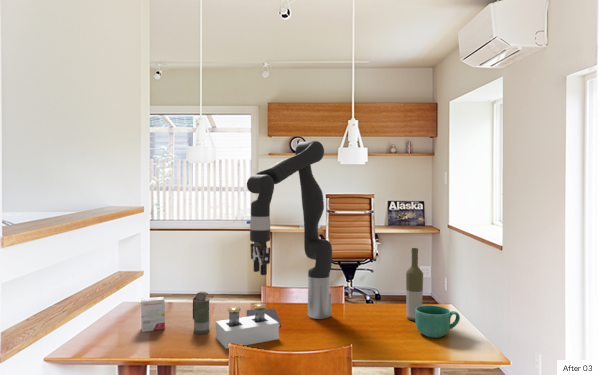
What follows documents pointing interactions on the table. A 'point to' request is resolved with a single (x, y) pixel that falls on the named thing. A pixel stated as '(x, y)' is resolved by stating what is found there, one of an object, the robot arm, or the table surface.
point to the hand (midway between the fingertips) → (259, 273)
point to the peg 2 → (259, 312)
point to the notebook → (269, 312)
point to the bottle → (414, 286)
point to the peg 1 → (234, 316)
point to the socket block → (247, 331)
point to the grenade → (201, 313)
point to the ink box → (152, 314)
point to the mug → (434, 320)
